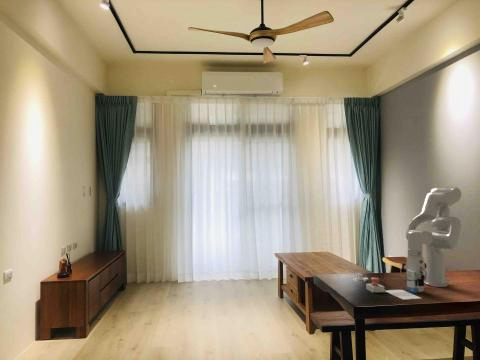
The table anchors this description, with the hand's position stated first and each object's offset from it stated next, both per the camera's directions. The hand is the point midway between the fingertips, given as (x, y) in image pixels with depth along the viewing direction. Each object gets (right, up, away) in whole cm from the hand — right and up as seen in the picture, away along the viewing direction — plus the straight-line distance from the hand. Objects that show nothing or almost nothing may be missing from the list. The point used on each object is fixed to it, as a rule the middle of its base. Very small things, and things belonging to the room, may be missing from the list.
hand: (414, 283), depth 200 cm
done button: (-22, -2, 0) cm, 22 cm away
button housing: (-22, -4, 0) cm, 23 cm away
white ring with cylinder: (-22, -5, +21) cm, 31 cm away
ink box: (0, -4, 0) cm, 4 cm away
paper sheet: (-10, -4, -7) cm, 13 cm away
